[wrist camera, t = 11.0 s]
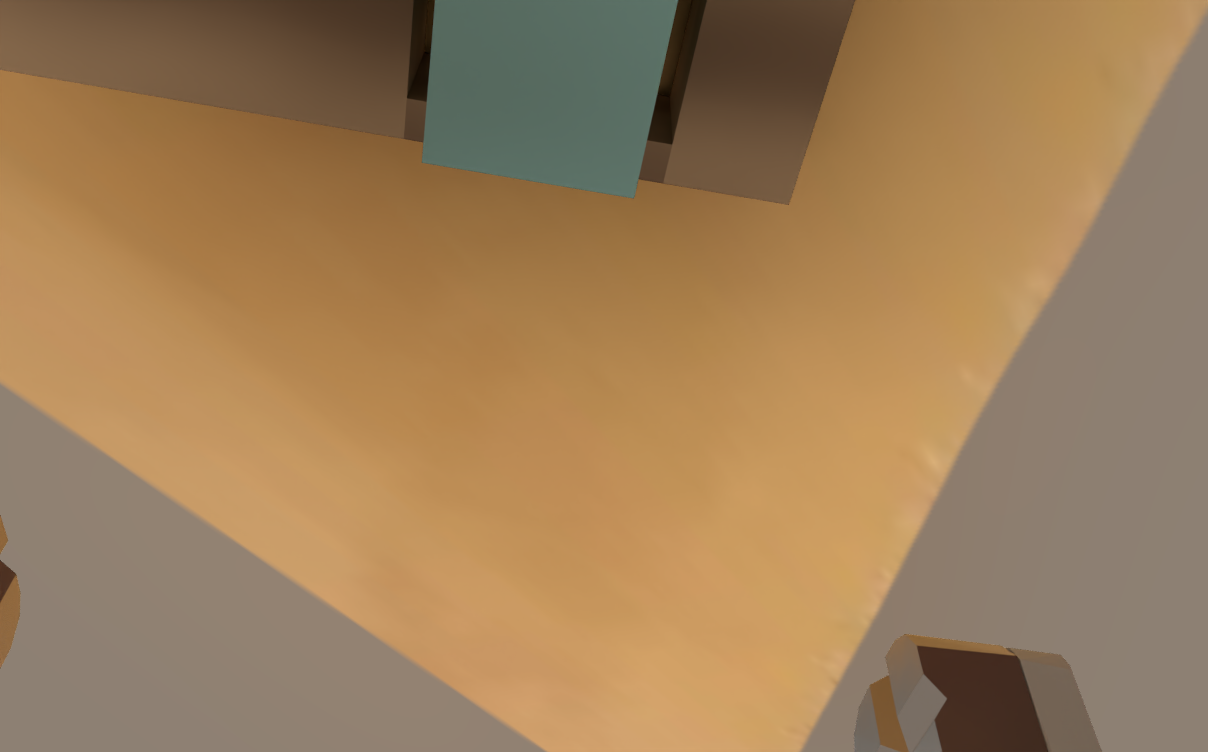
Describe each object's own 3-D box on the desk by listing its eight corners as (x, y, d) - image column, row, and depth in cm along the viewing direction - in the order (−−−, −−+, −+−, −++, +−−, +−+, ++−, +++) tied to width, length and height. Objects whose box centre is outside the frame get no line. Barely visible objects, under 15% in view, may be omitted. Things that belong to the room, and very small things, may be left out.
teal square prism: (486, -163, 23) (439, -55, 18) (671, -127, 24) (679, -11, 18) (468, 18, 26) (421, 162, 20) (635, 49, 26) (634, 198, 21)
